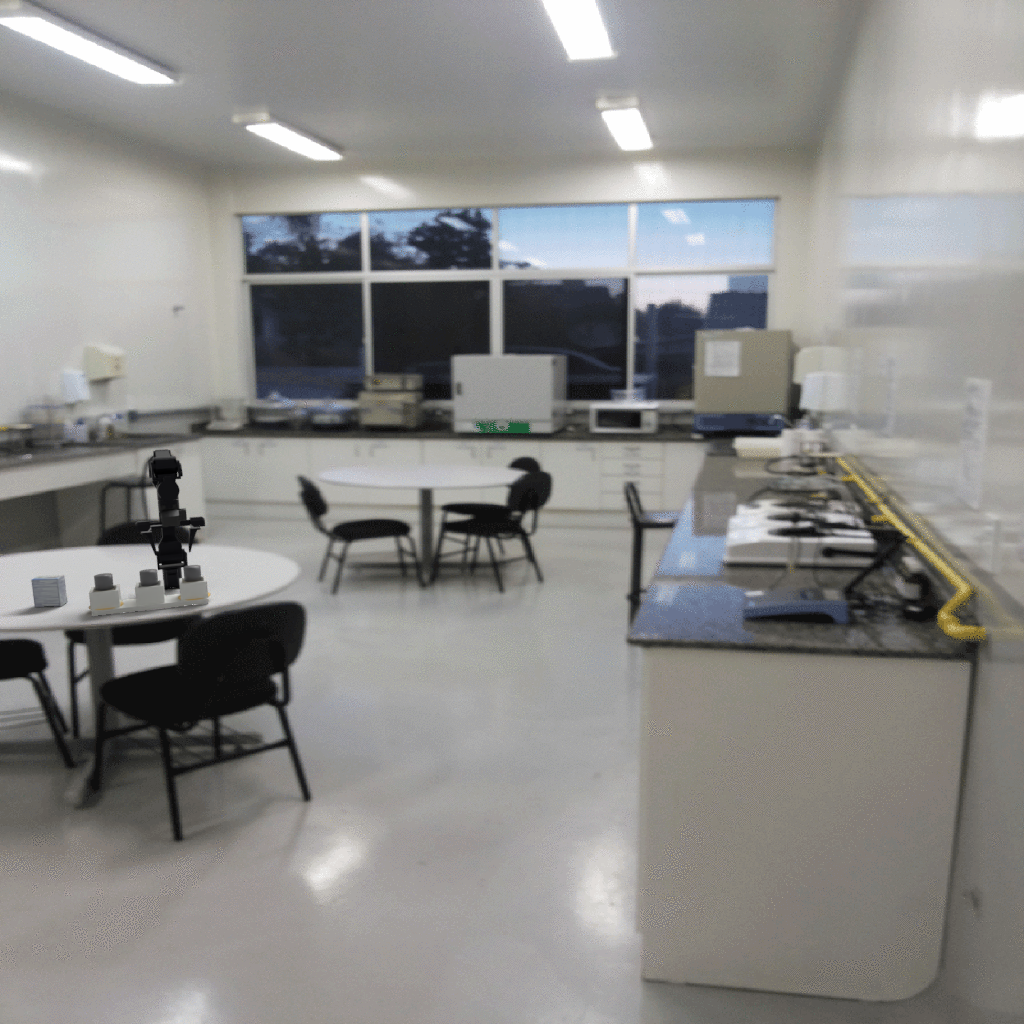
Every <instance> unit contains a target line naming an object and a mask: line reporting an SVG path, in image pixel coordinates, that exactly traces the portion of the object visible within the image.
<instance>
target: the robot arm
mask: <svg viewBox="0 0 1024 1024" xmlns="http://www.w3.org/2000/svg"><path fill="white" fill-rule="evenodd" d="M171 453H172V452H171V450H170V449H167V448H166V449H155V450H152V454H153V455H152V456H151V457H150V458H149V459H148V460H147V468H148V477H149V479H151V484H152V486H154V488H155V490H156V497H157V509H158V521H157V522H156V521H155V522H151V521H150V520H141V521H138V520H137V521H136V522H135V523H134V525H135V527H134V528H135V533H140V535H141V536H143V535H144V536H145V537H146V539H147V541H148V542H149V544H150V546H151V548H152V551H153V554H154V555H155V557H156V567H157V571H162V580H164V590H170V589H180V585H179V578H183V572H182V569H183V567H185V566H189V565H188V564H189V563H188V553H191V552H192V548H193V543H194V540H195V536H196V534H197V531H200V530H202V528H204V527H206V519H205V518H204V517H203V516H201V515H200V516H190V517H189V519H188V517H187V508H186V507H185V508H182V507H181V508H180V500H179V494H180V491H181V490H180V487H179V484H178V483H177V481H176V480H181V479H182V477H184V476H183V467H182V466H183V465H182V463H181V461H180V460H179V459H177V457H176V456H173V455H172V454H171ZM186 526H187V527H189V528H188V552H186V550H185V548H183V544H182V542H181V541H180V539H179V538H178V537H177V534H176V528H178V527H186ZM201 527H202V528H201ZM152 529H153V530H154V529H161V536H162V537H161V538H160V541H159V542H158V545H157V548H156V542H155V540H154V535H153V531H152ZM157 549H158V550H157Z"/></svg>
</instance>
